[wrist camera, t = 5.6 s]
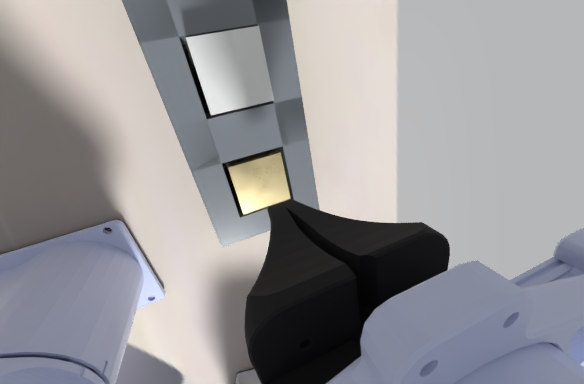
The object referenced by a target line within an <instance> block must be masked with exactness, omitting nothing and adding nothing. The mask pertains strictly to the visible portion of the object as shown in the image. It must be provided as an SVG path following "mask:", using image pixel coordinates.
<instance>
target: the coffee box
mask: <svg viewBox="0 0 584 384" xmlns="http://www.w3.org/2000/svg"><path fill="white" fill-rule="evenodd" d="M235 384H261V382H260V380H259V378H258V376H257V373H256V371H255V369H253V370H249V371H245V372H241V373H238V374H237V376H236V382H235Z"/></svg>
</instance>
